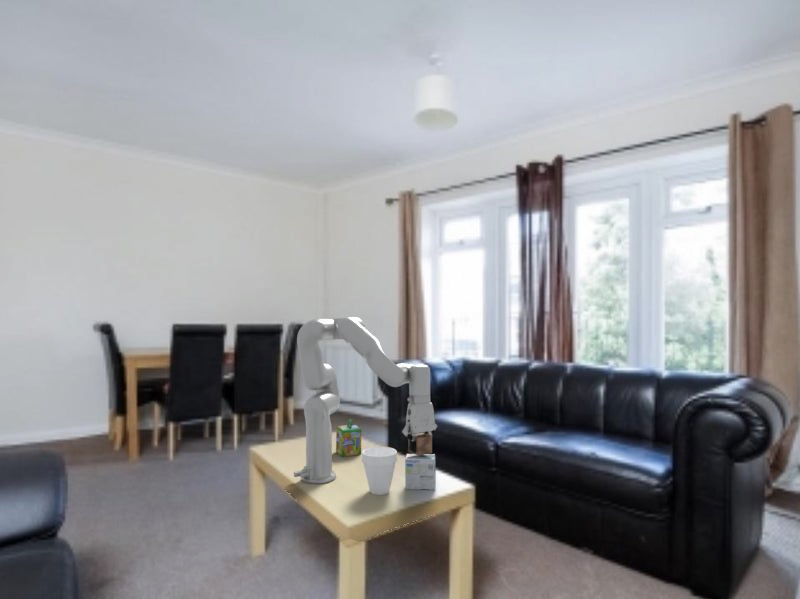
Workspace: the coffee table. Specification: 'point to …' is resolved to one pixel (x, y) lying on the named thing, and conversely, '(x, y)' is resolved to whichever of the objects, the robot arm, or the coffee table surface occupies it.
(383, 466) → the cup
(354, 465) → the coffee table surface
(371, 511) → the coffee table surface
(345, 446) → the chalk box
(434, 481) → the light bulb box
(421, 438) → the walnut block
